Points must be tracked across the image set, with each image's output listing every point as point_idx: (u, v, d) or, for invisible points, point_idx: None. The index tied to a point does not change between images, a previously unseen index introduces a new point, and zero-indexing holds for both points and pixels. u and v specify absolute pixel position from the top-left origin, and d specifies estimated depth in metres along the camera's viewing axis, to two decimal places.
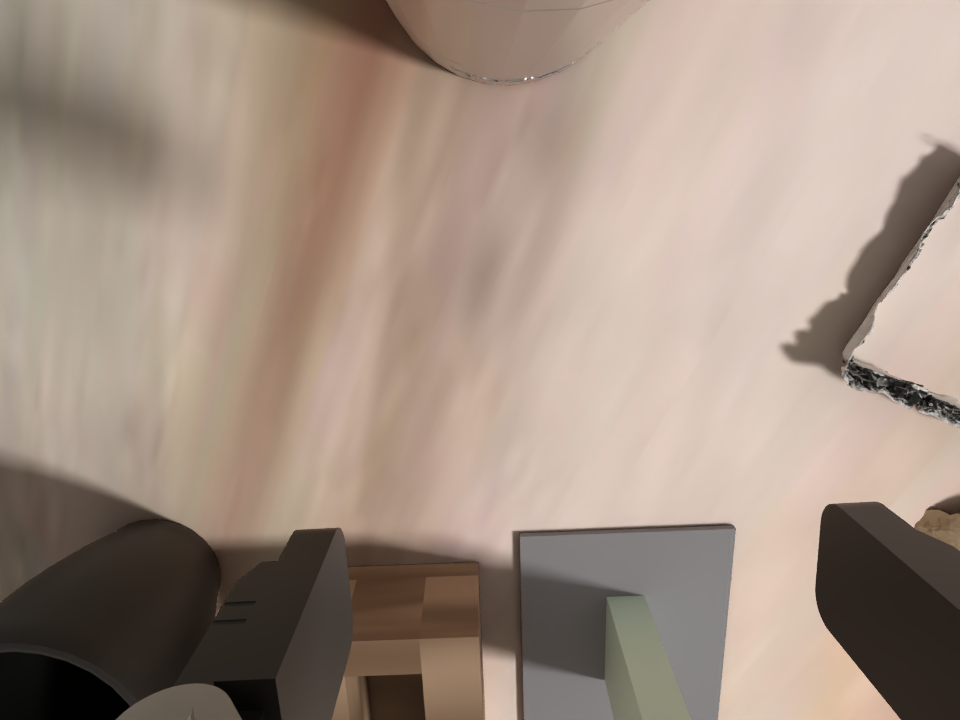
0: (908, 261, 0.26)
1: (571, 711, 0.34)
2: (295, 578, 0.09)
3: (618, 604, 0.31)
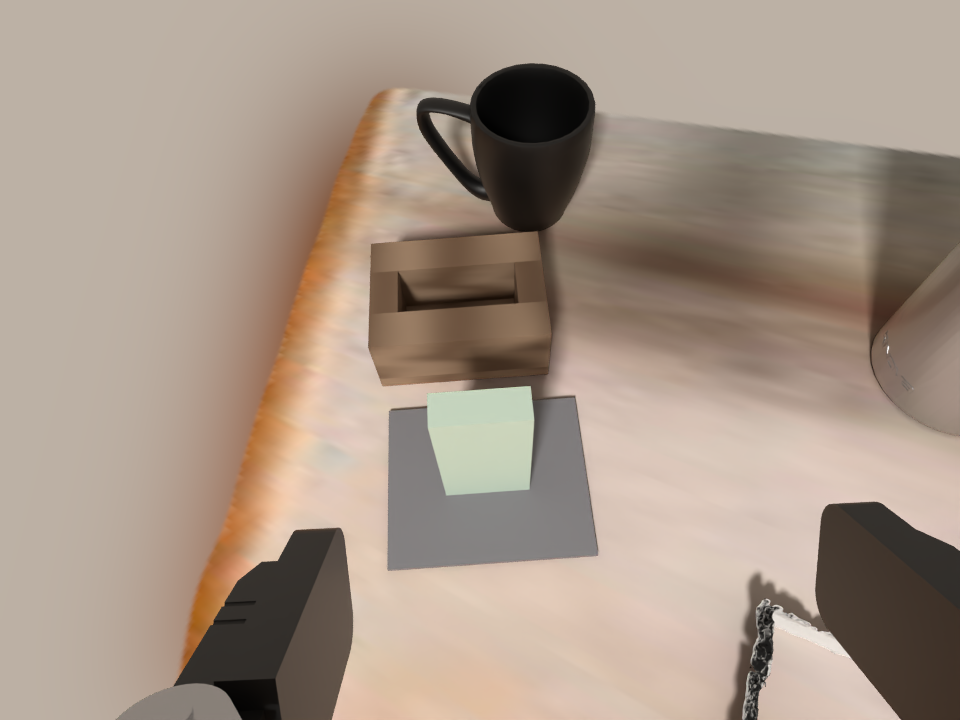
0: None
1: (413, 444, 0.41)
2: (295, 578, 0.09)
3: None
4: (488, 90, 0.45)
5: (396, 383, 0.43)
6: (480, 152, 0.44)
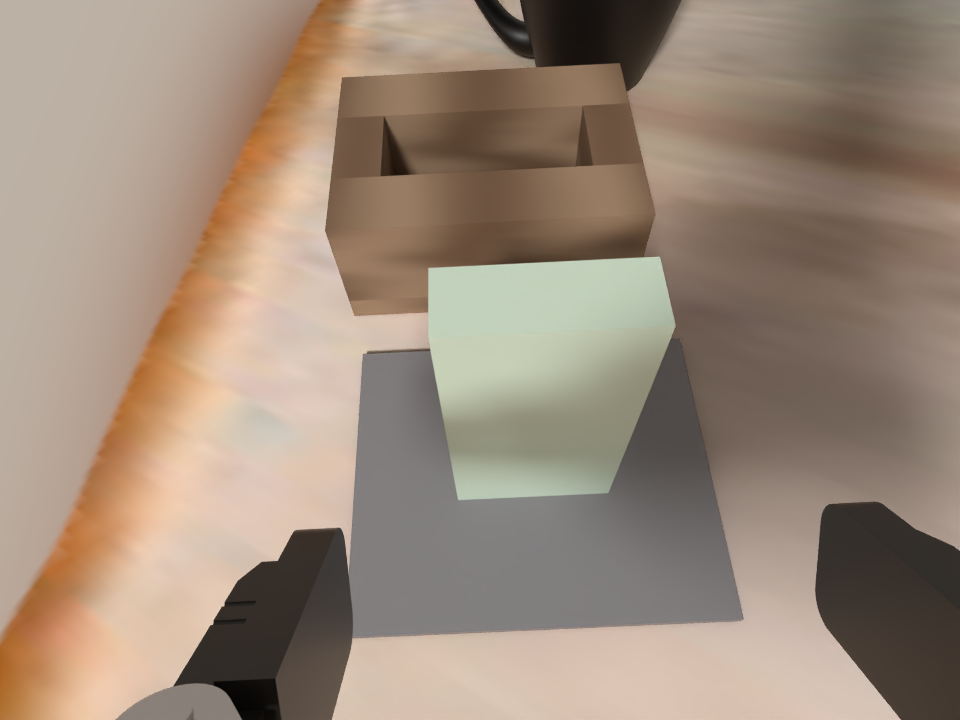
0: None
1: (402, 410, 0.24)
2: (295, 578, 0.09)
3: None
4: None
5: (377, 311, 0.26)
6: None
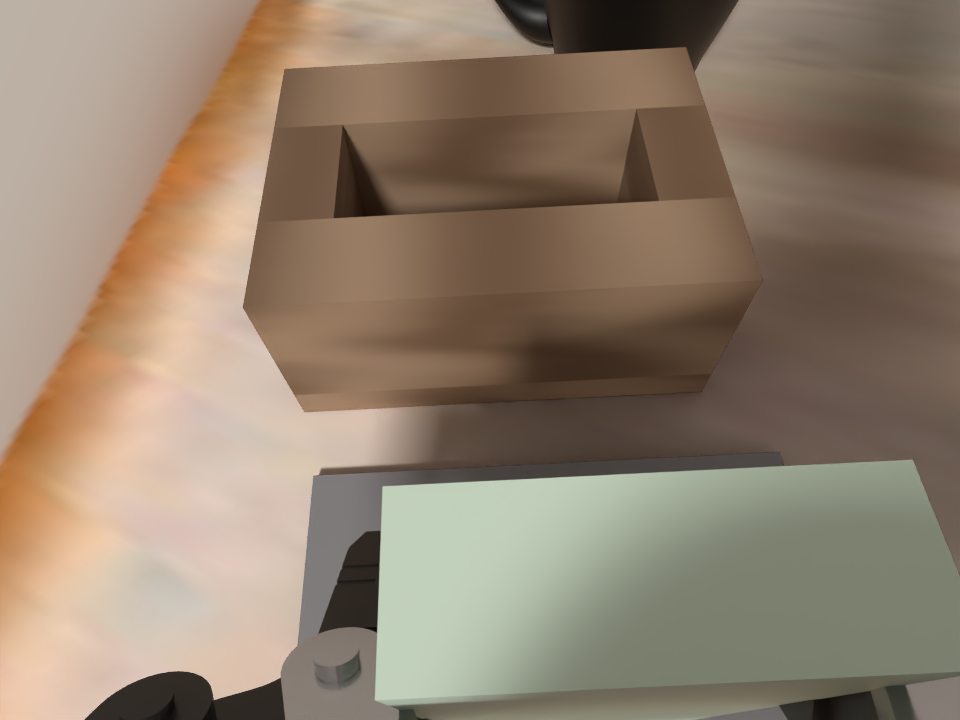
0: None
1: None
2: None
3: None
4: None
5: (337, 406, 0.18)
6: None
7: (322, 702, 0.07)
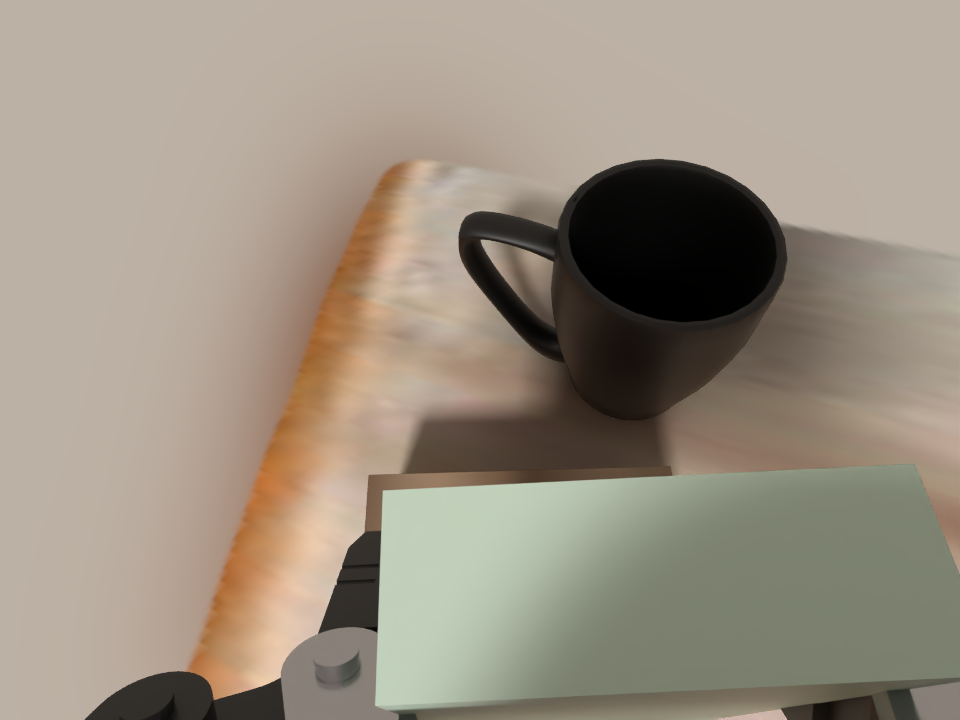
0: None
1: None
2: None
3: None
4: (586, 203, 0.25)
5: None
6: (570, 316, 0.24)
7: (322, 702, 0.07)
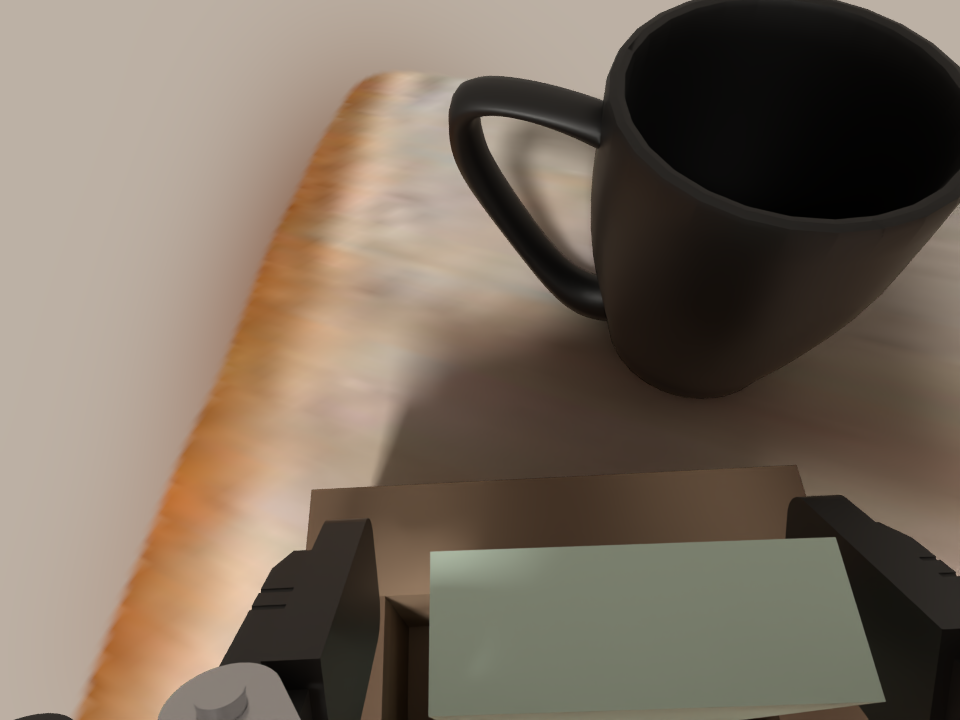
0: None
1: None
2: (330, 565, 0.09)
3: None
4: (645, 60, 0.16)
5: None
6: (629, 231, 0.15)
7: None
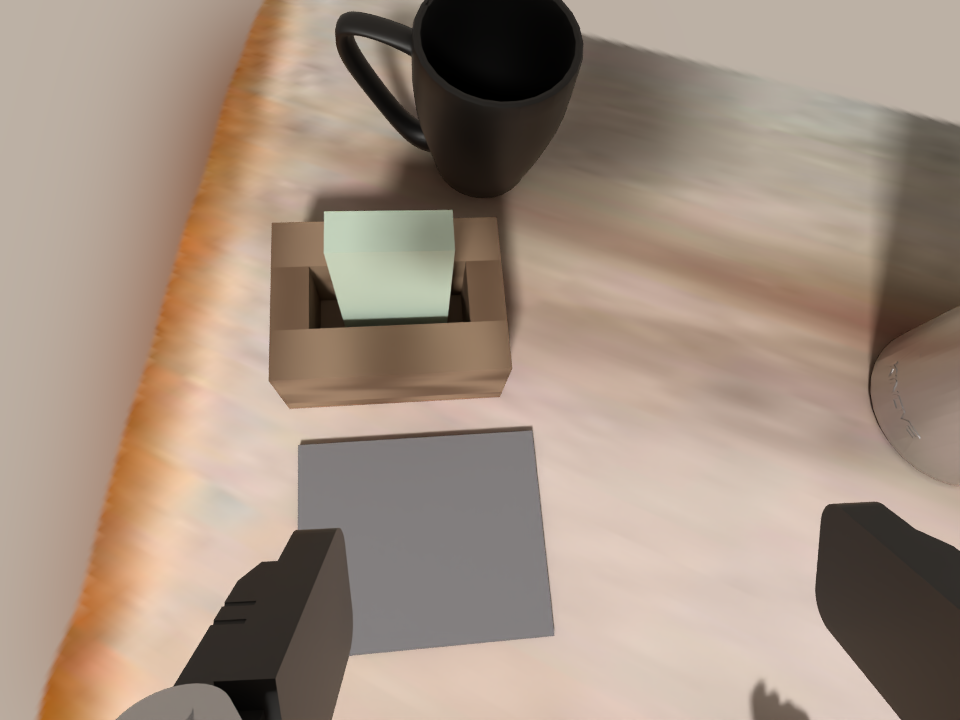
0: None
1: (330, 492, 0.33)
2: (295, 578, 0.09)
3: None
4: (437, 8, 0.32)
5: (307, 406, 0.34)
6: (424, 101, 0.32)
7: None
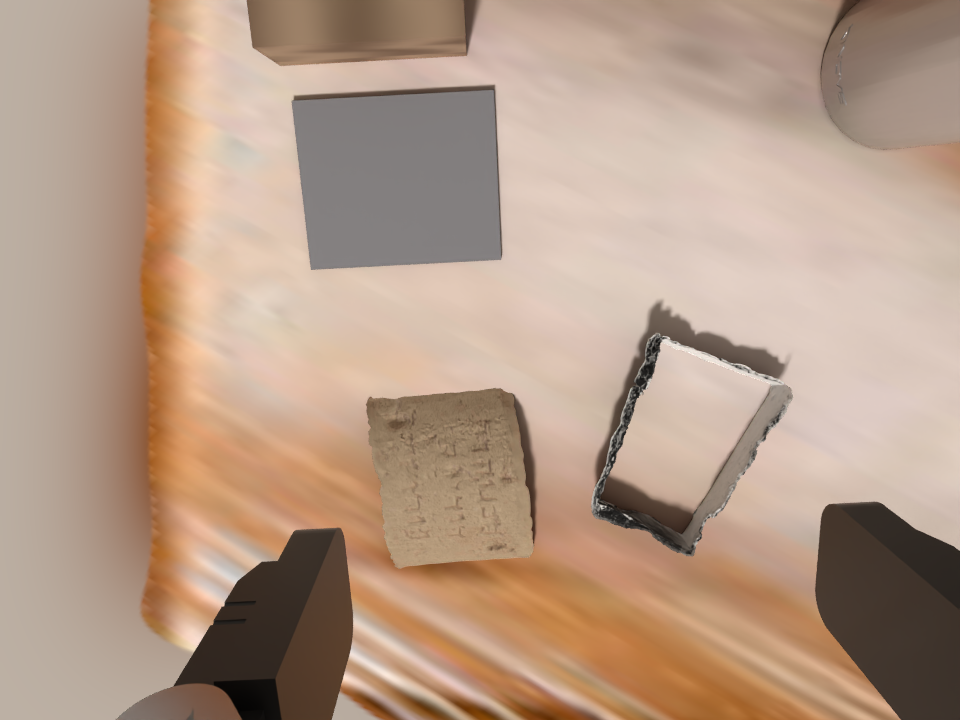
0: (721, 361, 0.43)
1: (322, 142, 0.40)
2: (295, 578, 0.09)
3: None
4: None
5: (295, 64, 0.38)
6: None
7: None
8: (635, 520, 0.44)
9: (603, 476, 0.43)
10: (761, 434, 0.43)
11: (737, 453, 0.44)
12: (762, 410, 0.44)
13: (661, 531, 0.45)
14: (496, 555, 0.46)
